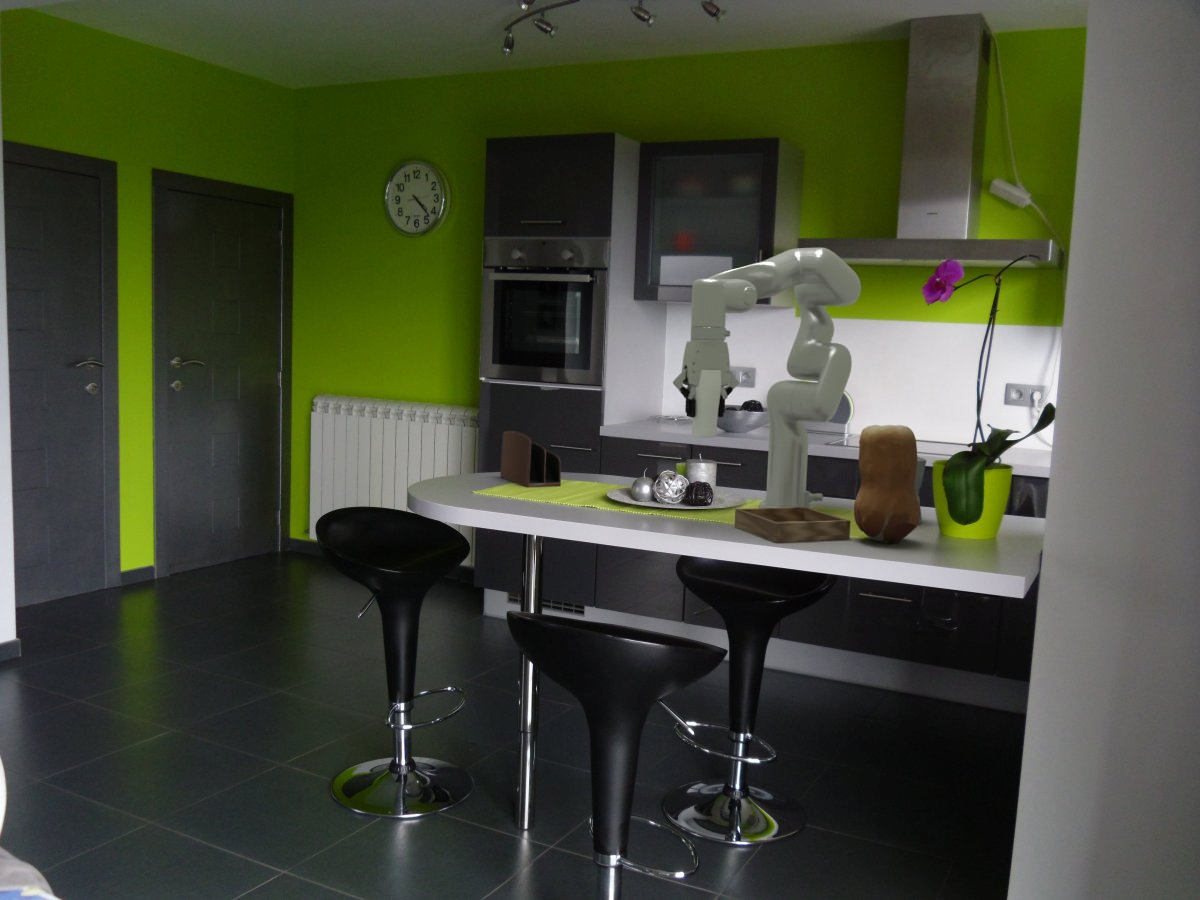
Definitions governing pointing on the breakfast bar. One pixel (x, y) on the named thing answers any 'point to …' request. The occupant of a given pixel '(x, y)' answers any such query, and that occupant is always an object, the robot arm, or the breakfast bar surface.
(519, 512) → the breakfast bar surface
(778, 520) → the walnut tray
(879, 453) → the butternut squash
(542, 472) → the letter holder
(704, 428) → the drinking glass
